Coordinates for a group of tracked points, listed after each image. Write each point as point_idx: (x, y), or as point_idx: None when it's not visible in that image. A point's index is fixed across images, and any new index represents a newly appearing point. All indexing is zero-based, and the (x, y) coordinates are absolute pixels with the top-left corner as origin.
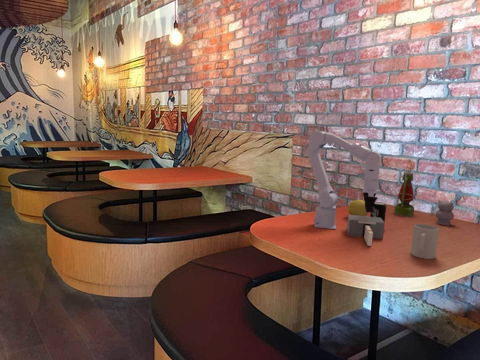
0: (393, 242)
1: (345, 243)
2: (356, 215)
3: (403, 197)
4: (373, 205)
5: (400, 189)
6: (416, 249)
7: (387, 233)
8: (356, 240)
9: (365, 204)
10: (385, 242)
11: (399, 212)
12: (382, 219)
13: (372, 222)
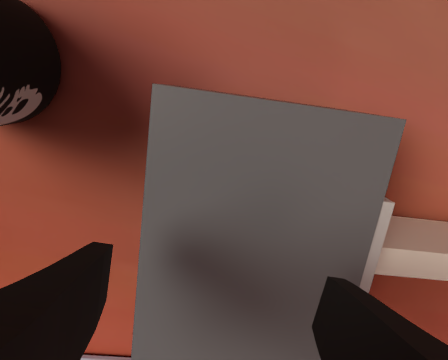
0: (405, 53)
1: (444, 341)
2: (138, 323)
3: None
4: (434, 338)
5: None
6: None
7: (159, 13)
8: (385, 280)
9: (85, 347)
10: (410, 113)
11: None
12: (3, 14)
13: (384, 232)
